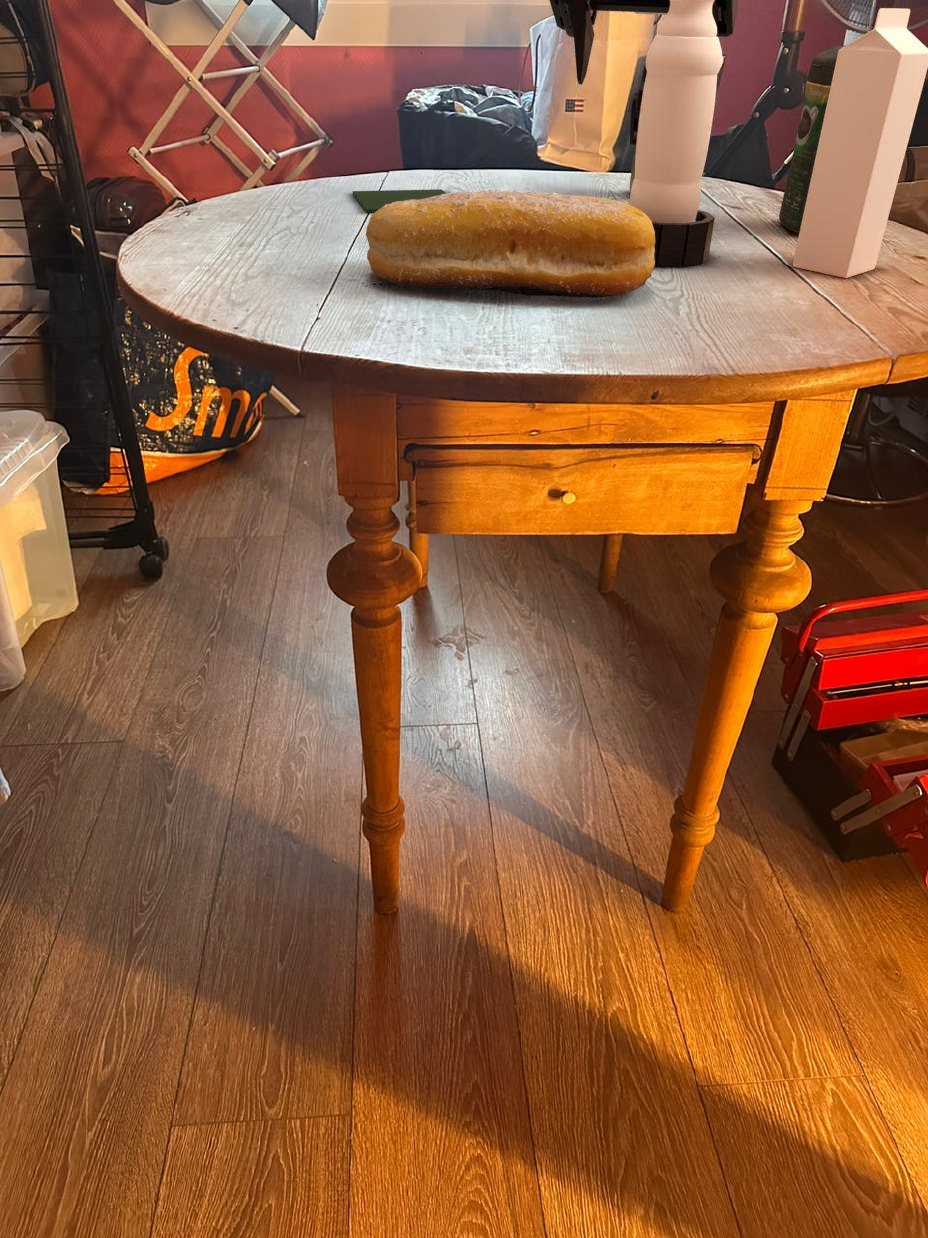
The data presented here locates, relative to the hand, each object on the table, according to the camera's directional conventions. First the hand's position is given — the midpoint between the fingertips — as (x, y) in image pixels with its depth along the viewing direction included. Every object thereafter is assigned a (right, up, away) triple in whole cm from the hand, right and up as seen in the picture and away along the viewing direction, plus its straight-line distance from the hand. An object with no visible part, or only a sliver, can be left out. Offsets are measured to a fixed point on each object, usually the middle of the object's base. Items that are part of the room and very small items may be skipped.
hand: (622, 84), depth 94 cm
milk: (+21, -19, 0) cm, 29 cm away
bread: (-12, -24, -8) cm, 28 cm away
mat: (-24, -2, +23) cm, 33 cm away
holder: (+4, -16, +2) cm, 17 cm away
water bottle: (+4, -17, +3) cm, 17 cm away
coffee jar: (+25, -9, +15) cm, 30 cm away
